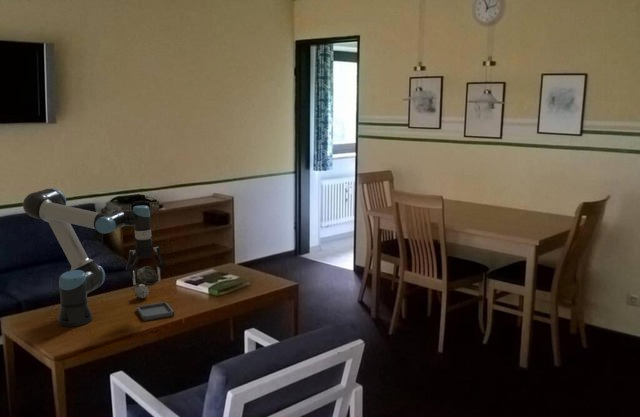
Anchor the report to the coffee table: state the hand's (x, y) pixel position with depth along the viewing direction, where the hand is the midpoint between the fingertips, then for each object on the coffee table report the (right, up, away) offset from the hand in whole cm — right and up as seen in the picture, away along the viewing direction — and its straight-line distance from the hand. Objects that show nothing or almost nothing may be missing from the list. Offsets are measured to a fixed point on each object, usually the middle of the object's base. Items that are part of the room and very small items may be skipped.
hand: (146, 282), depth 292 cm
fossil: (0, -1, 0) cm, 1 cm away
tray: (+2, -16, +6) cm, 17 cm away
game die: (-10, -12, +27) cm, 32 cm away
